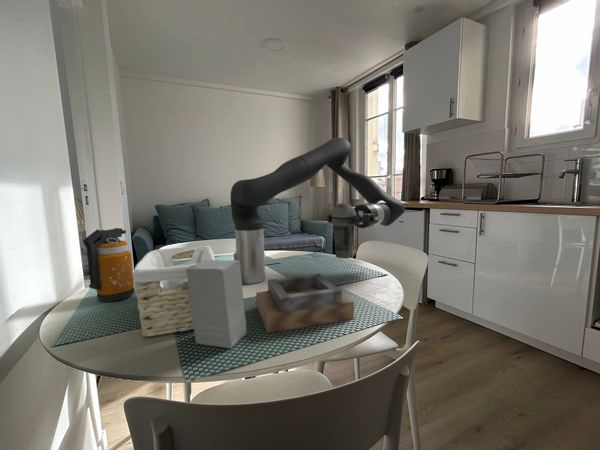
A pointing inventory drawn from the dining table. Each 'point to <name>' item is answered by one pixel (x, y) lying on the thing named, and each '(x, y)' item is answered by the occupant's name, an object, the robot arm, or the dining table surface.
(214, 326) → the skincare box
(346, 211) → the beverage cup
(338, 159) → the robot arm
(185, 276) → the storage basket
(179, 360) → the dining table surface
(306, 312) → the cup block
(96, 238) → the canister
